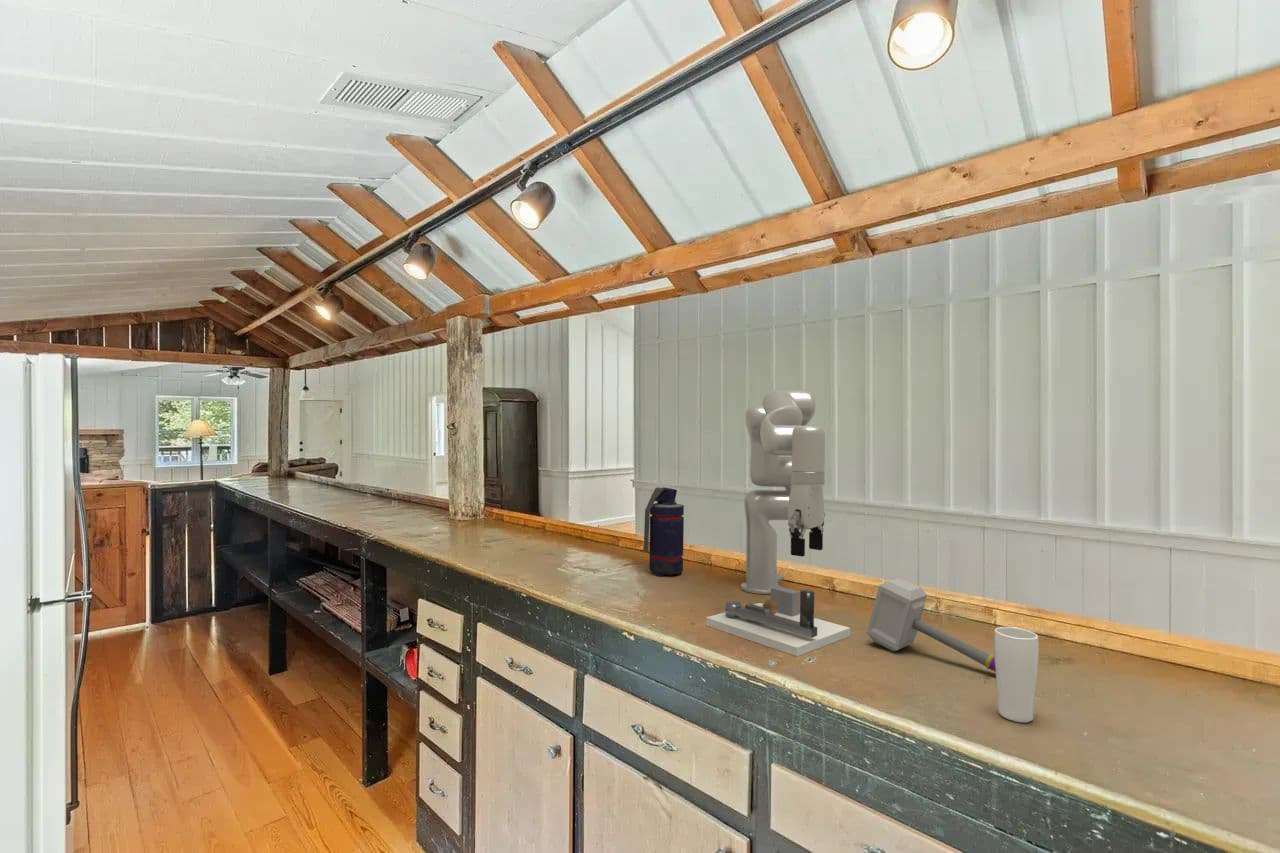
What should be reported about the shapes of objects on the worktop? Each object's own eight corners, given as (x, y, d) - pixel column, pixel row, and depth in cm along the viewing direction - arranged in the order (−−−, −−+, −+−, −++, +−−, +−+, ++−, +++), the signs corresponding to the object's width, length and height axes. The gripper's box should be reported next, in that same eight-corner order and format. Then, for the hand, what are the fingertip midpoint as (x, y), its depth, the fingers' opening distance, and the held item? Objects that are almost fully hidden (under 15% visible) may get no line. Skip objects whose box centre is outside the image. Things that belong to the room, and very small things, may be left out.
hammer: (1034, 637, 126) (897, 574, 148) (1020, 646, 121) (880, 579, 143) (1013, 703, 129) (881, 631, 151) (999, 714, 124) (865, 638, 146)
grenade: (675, 568, 224) (676, 486, 224) (688, 576, 212) (689, 489, 212) (639, 570, 219) (640, 486, 220) (650, 578, 208) (651, 490, 208)
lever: (722, 614, 160) (722, 574, 160) (735, 610, 164) (735, 571, 164) (809, 640, 141) (809, 594, 141) (821, 636, 144) (822, 591, 144)
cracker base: (705, 625, 159) (706, 594, 159) (760, 609, 173) (760, 581, 173) (796, 656, 138) (797, 620, 138) (850, 636, 152) (850, 603, 152)
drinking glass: (985, 708, 113) (985, 626, 113) (1020, 707, 113) (1020, 626, 113) (1010, 726, 106) (1011, 639, 106) (1047, 725, 106) (1048, 638, 106)
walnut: (759, 614, 160) (759, 599, 161) (768, 611, 163) (769, 596, 163) (771, 618, 157) (771, 602, 157) (781, 615, 160) (781, 599, 160)
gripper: (808, 476, 153) (807, 545, 153) (775, 480, 139) (774, 555, 139) (837, 478, 148) (837, 549, 148) (806, 482, 135) (806, 560, 134)
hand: (806, 552), depth 144 cm, fingers open, 9 cm apart
